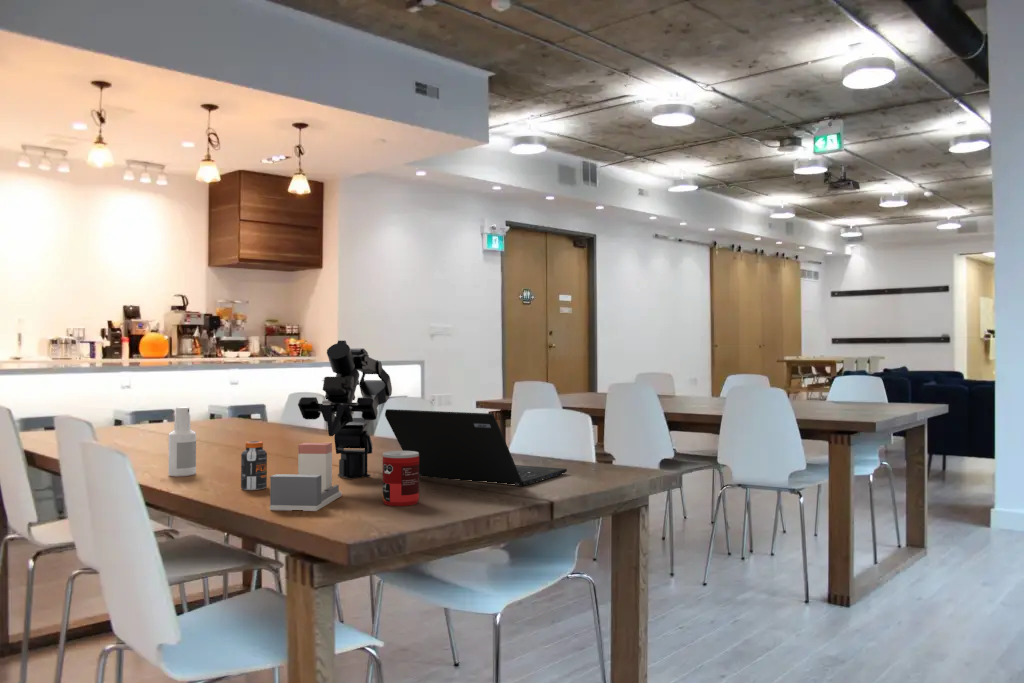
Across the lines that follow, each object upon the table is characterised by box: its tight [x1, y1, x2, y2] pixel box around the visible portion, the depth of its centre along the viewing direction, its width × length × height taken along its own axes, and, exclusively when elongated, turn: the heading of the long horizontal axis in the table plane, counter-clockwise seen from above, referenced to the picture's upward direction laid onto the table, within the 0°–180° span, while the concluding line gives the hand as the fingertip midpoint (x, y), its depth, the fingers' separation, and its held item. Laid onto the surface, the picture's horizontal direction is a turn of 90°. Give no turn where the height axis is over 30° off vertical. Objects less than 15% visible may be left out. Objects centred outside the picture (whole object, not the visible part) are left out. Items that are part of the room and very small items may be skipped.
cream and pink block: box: [297, 442, 333, 492], centre depth 179 cm, size 4×6×11 cm, turn 85°
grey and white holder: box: [269, 473, 343, 512], centre depth 174 cm, size 17×10×7 cm, turn 175°
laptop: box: [384, 408, 568, 486], centre depth 205 cm, size 33×38×19 cm
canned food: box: [382, 450, 420, 507], centre depth 173 cm, size 8×8×11 cm
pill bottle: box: [240, 440, 268, 491], centre depth 191 cm, size 6×6×11 cm
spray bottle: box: [167, 406, 197, 478], centre depth 211 cm, size 7×7×18 cm
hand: (330, 435), depth 189 cm, fingers closed
